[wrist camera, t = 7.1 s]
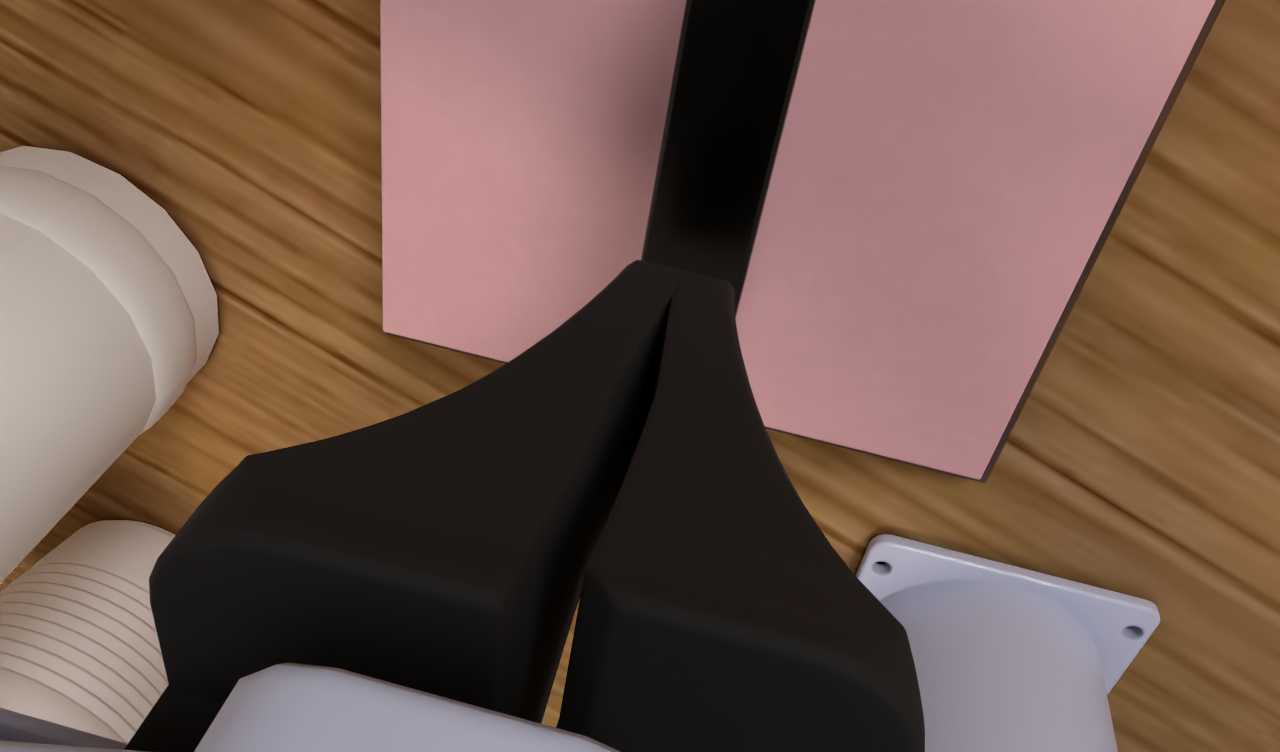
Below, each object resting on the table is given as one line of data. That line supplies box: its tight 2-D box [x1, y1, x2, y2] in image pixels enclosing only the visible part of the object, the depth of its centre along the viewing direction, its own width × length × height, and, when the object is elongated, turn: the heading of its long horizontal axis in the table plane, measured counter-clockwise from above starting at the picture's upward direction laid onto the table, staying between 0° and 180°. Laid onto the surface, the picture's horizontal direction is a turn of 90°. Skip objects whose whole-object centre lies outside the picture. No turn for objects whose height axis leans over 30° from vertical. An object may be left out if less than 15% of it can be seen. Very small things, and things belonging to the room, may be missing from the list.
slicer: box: [386, 0, 1225, 483], centre depth 19 cm, size 18×16×7 cm
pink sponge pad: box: [380, 0, 1216, 480], centre depth 20 cm, size 13×14×3 cm
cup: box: [0, 520, 176, 744], centre depth 33 cm, size 10×10×11 cm
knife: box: [641, 0, 816, 319], centre depth 17 cm, size 14×2×4 cm, turn 172°
